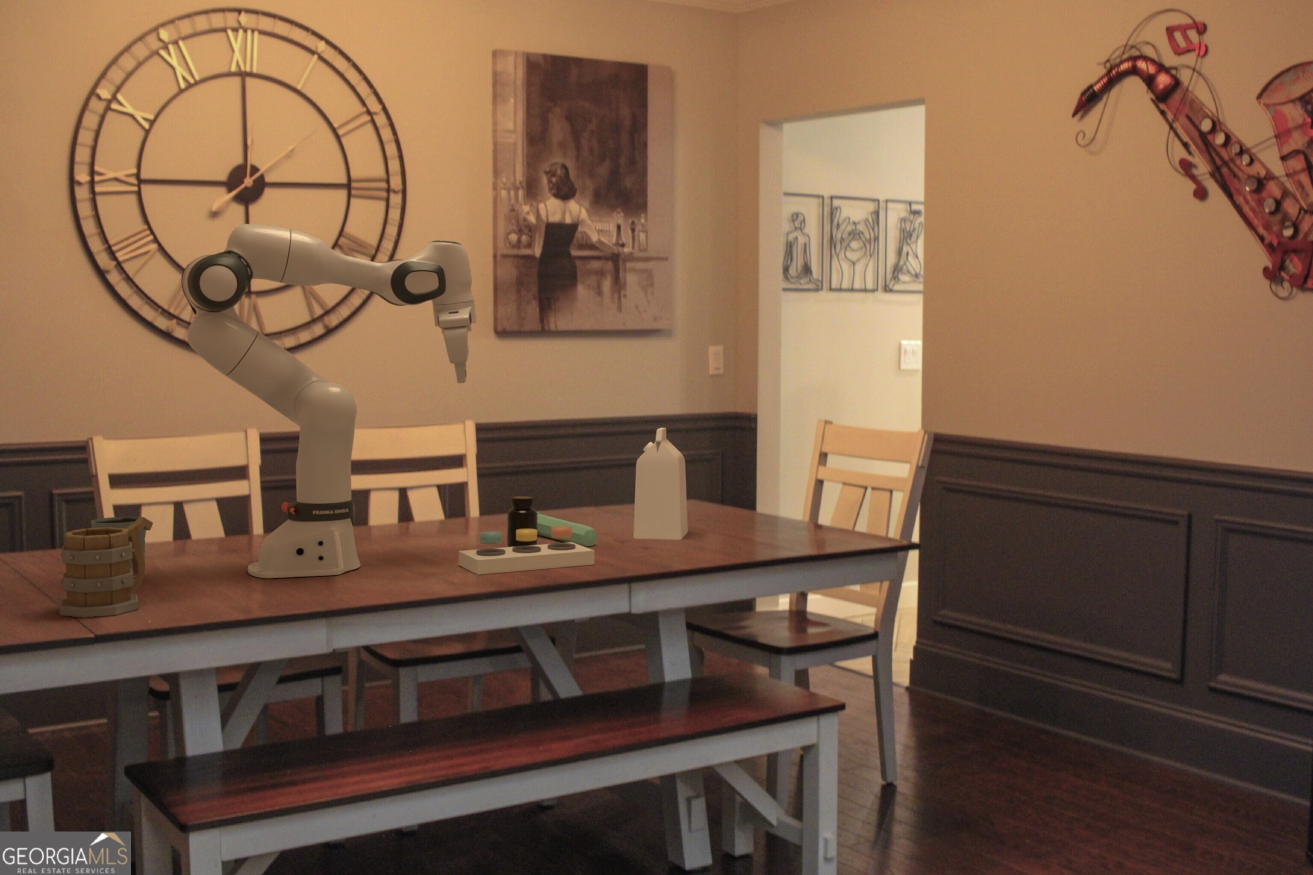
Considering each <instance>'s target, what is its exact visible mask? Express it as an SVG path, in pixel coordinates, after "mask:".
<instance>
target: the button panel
mask: <svg viewBox="0 0 1313 875" xmlns="http://www.w3.org/2000/svg"><path fill="white" fill-rule="evenodd" d="M591 565H593V566H594V565H595V550H594V549H591V548H589V547H583V546H581V545H578V544H575V543H573V542H568V543H567V542H554V543H544V544H537V545H530V546H517V547H507V546H506V547H494V548H492V547H491V548H481V549H471V550H470V549H468V550H459V551H458V566H460V567H462V568H463V569H466V570H468V571H469V572H471V573H474V574H475V575H478V576H479V575H488V574H489V575H490V574H501V573H513V572H523V571H537V570H547V569H548V570H549V569H557V568H558V569H559V568H560V569H561V568H568V567H569V568H571V567H579V566H580V567H581V566H591Z"/></svg>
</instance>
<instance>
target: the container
mask: <svg viewBox="0 0 1313 875" xmlns="http://www.w3.org/2000/svg"><path fill="white" fill-rule="evenodd" d="M536 512H537V536H541V537H546V538H549V539H552V540H555V541H556V540H557V541H561V542H562V543H568V542H573V543H575V544H578V545H581V546H583V547H586V548H589V547H593V546H594V545H595V543H596V542H597V541H598V534H597V532H596V530H595V529H594V528H593V527H592V526H589V525H585V524H581V523H576V522H572V521H569V520H565V519H562V518H557V517H553V516H549V515H546V514H543V513H542V512H541V511H536ZM556 526H568V527H572V537H571V538H564V539H558V538H552V537H551V527H556Z"/></svg>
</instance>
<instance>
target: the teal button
mask: <svg viewBox="0 0 1313 875" xmlns="http://www.w3.org/2000/svg"><path fill="white" fill-rule="evenodd" d="M479 543H480V544H483V545H496V544H501V543H502V531H497V530H496V531H495V530H489V531H486V530H485V531H481V532H480V533H479Z"/></svg>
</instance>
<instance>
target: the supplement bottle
mask: <svg viewBox="0 0 1313 875" xmlns="http://www.w3.org/2000/svg"><path fill="white" fill-rule="evenodd" d="M511 506H512V508H510V509H509V510H508V511H507V513H506V514H507V519H506V520H507V522H506V523H507V524H506V532H507V533H506V541H507V542H506V547H517V546H530V545H538V539H537V540H535V541H517V540H516V530H518V529H536V530H537V512H538V511H537V510H536V509H535V508H533V507H534V497H532V496H522V495H521V496H520V495H519V496H512V497H511Z"/></svg>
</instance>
